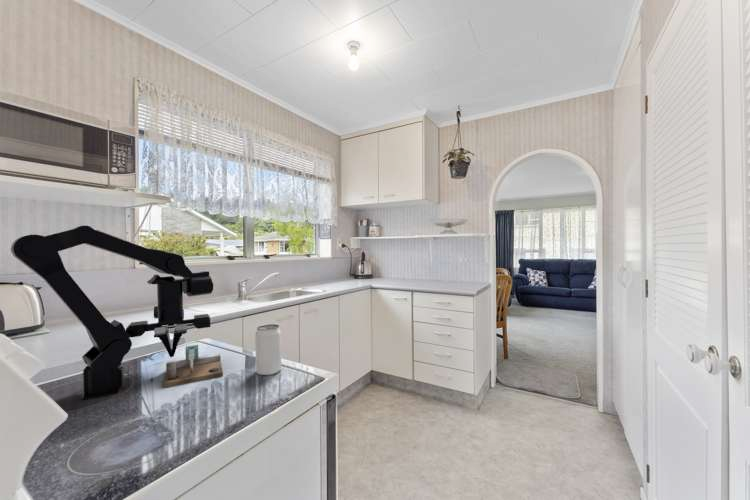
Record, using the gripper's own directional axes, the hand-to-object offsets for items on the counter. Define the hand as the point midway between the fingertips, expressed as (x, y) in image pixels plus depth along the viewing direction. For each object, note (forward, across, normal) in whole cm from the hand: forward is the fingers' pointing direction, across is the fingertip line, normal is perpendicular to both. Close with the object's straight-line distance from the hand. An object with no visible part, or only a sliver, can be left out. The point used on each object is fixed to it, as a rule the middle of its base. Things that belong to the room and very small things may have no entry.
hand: (172, 356), depth 85 cm
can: (+4, -23, +14) cm, 27 cm away
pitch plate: (+4, -5, +5) cm, 8 cm away
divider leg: (+3, -5, +3) cm, 6 cm away
